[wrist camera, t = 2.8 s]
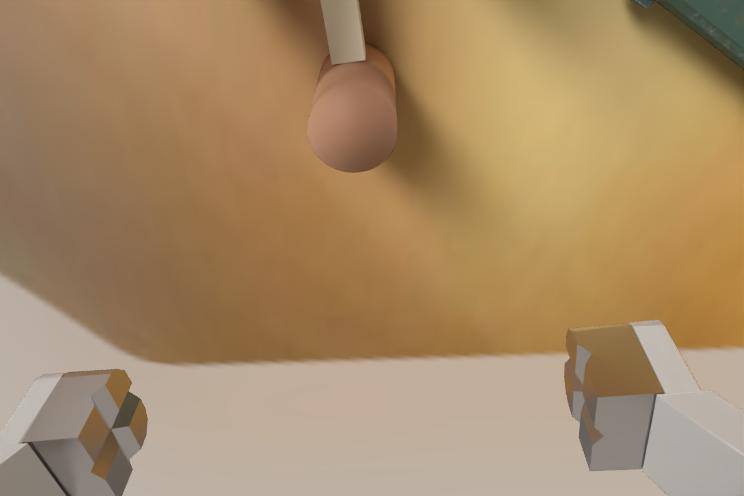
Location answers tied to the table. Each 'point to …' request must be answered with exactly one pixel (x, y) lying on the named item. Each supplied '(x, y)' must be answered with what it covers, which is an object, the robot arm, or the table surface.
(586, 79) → the table surface
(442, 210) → the table surface
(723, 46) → the gun
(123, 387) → the robot arm
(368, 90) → the wooden mallet
